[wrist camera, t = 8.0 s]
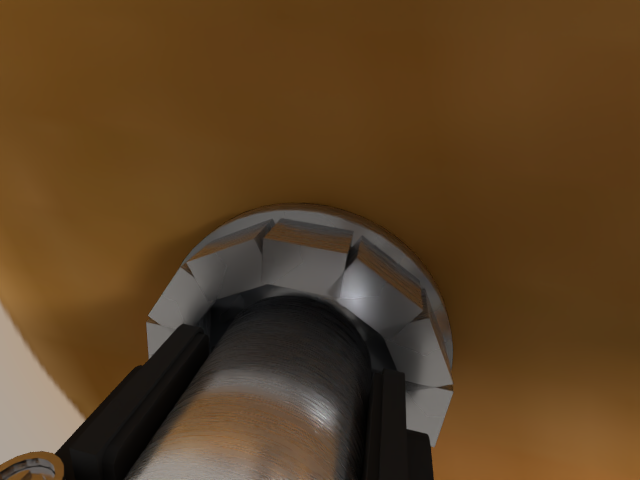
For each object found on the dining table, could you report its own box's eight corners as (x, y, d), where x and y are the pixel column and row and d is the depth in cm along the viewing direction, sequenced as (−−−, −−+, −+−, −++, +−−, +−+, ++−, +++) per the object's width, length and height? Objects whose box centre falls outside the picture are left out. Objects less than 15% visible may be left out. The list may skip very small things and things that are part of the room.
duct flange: (175, 179, 11) (126, 200, 9) (486, 233, 10) (509, 271, 8) (182, 403, 15) (147, 455, 13) (414, 461, 14) (417, 529, 12)
